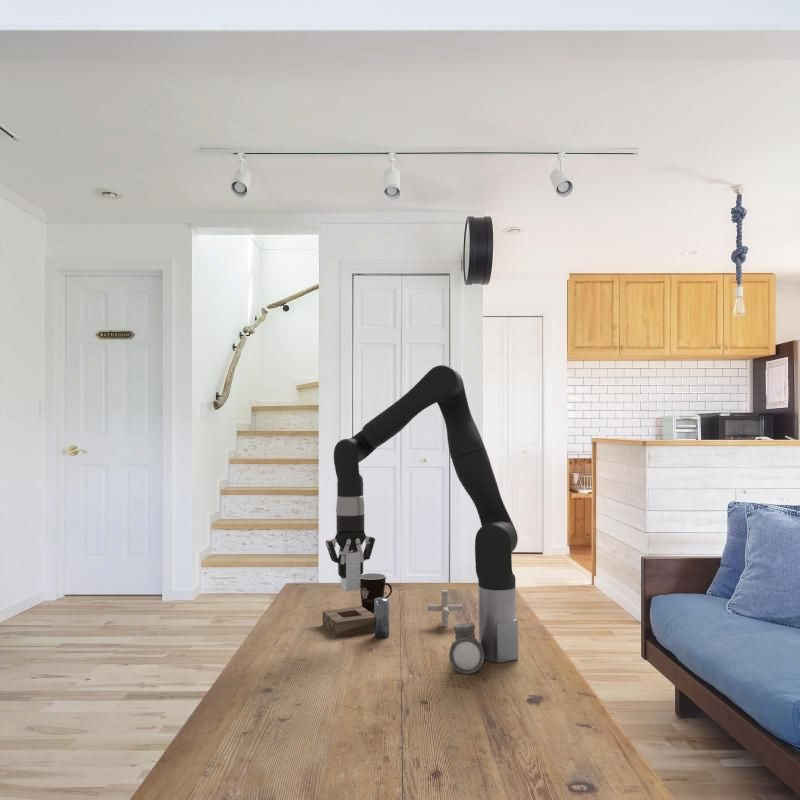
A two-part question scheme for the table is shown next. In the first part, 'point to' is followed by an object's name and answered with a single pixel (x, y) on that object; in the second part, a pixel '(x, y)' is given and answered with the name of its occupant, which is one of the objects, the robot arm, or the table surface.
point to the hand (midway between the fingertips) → (350, 576)
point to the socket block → (349, 621)
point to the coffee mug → (372, 589)
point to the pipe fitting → (466, 650)
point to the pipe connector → (445, 608)
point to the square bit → (351, 572)
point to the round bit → (381, 617)
